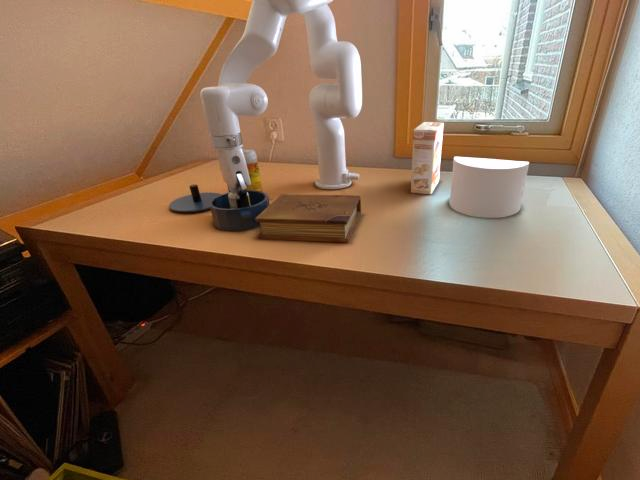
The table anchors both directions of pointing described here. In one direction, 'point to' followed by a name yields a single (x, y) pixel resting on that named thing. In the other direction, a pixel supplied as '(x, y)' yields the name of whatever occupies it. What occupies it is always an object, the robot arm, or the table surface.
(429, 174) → the coffeecake box
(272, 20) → the robot arm
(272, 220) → the diary
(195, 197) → the pan lid
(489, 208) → the container
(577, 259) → the table surface
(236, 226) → the pan
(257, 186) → the beer can
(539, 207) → the table surface
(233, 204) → the supplement bottle
